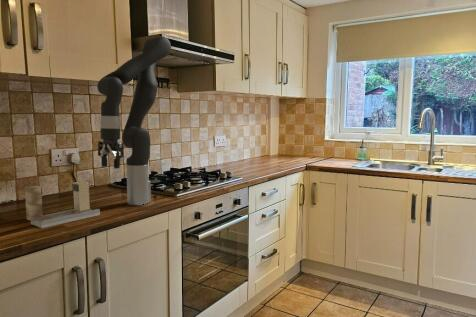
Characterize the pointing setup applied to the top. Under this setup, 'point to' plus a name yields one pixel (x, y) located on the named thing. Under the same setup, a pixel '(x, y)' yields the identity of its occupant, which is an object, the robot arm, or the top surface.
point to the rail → (77, 213)
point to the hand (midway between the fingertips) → (110, 167)
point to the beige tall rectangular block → (33, 201)
